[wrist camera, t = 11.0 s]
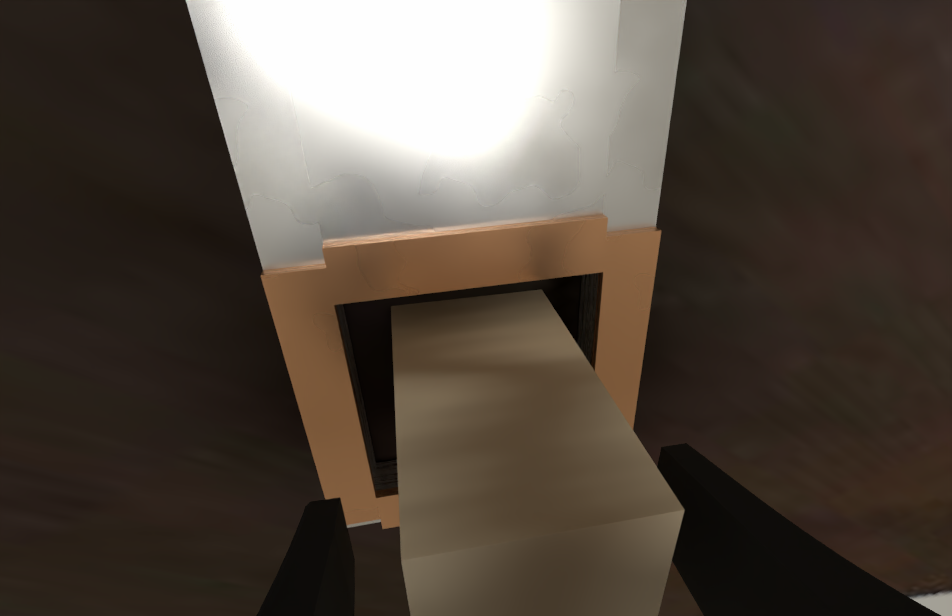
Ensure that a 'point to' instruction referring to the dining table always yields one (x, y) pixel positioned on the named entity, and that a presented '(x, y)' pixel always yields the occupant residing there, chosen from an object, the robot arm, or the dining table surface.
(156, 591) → the dining table surface
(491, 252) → the rail
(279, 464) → the dining table surface
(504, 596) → the birch peg
